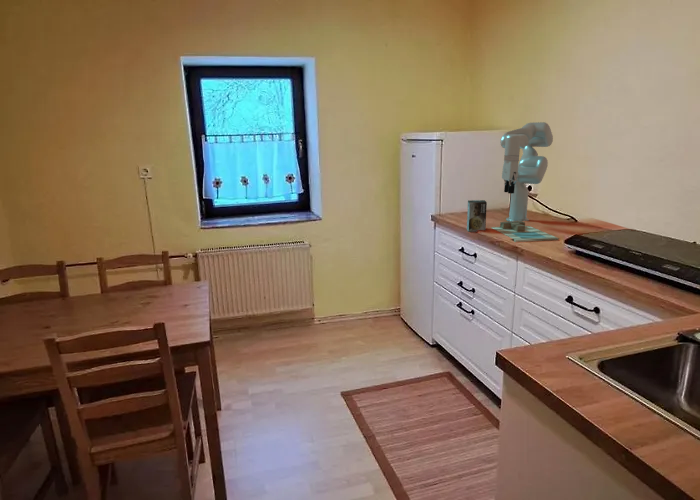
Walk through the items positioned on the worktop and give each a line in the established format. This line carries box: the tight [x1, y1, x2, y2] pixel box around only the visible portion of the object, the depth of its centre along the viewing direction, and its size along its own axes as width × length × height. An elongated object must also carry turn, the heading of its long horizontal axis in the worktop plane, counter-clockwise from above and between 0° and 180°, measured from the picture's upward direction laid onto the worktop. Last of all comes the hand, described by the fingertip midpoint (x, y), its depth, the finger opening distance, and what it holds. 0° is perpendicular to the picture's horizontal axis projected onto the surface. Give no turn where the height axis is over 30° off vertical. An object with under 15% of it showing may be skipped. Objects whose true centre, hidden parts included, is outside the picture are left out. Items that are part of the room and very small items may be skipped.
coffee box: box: [466, 199, 488, 233], centre depth 241 cm, size 9×6×16 cm
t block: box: [499, 221, 526, 232], centre depth 240 cm, size 12×12×3 cm
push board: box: [490, 225, 560, 243], centre depth 233 cm, size 30×22×1 cm
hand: (509, 192), depth 246 cm, fingers open, 4 cm apart
